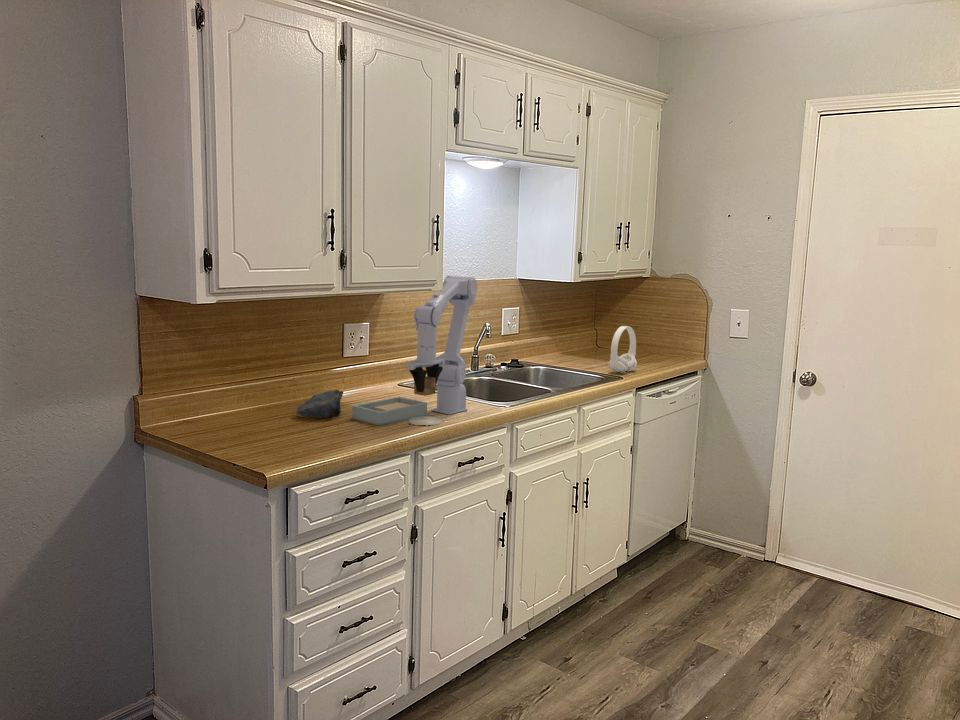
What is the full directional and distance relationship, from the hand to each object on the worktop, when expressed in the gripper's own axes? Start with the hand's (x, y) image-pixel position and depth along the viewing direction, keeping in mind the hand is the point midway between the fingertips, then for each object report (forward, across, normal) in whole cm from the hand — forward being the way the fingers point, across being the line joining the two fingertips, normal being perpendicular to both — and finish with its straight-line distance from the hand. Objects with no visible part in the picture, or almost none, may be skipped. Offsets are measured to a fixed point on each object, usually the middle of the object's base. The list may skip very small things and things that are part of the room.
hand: (425, 390), depth 234 cm
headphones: (+10, -126, -3) cm, 127 cm away
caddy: (+10, +3, -12) cm, 16 cm away
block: (+1, 0, 0) cm, 1 cm away
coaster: (+10, 0, 0) cm, 10 cm away
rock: (+10, +18, -26) cm, 33 cm away
